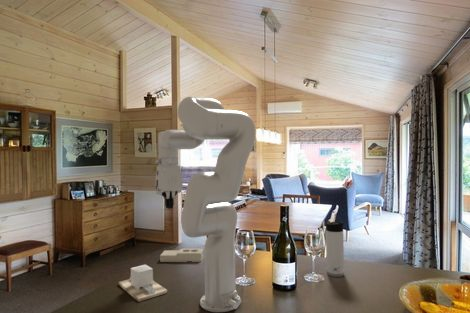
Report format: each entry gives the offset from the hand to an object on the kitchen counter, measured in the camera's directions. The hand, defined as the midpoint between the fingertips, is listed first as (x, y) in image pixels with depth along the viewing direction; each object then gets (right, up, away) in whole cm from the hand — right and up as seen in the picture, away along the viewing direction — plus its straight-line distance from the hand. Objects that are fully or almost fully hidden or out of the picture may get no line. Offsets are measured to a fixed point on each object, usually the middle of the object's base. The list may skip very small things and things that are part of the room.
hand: (169, 208), depth 131 cm
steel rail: (-6, -26, -17) cm, 31 cm away
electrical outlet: (+3, -26, +14) cm, 29 cm away
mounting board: (-6, -26, -17) cm, 31 cm away
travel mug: (+64, -24, -7) cm, 69 cm away
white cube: (-6, -24, -17) cm, 30 cm away
